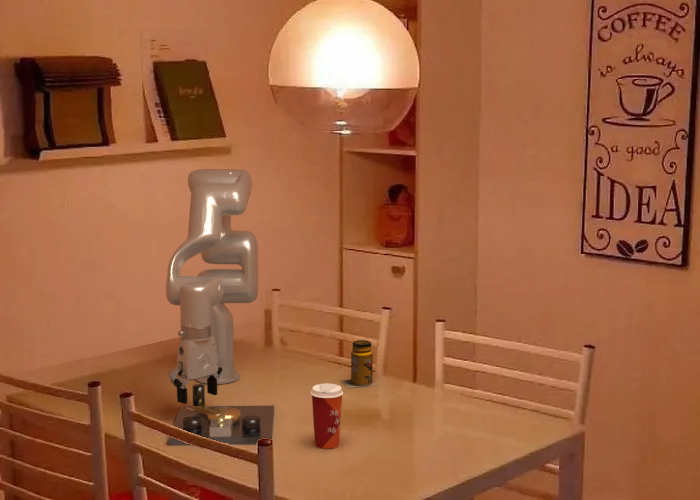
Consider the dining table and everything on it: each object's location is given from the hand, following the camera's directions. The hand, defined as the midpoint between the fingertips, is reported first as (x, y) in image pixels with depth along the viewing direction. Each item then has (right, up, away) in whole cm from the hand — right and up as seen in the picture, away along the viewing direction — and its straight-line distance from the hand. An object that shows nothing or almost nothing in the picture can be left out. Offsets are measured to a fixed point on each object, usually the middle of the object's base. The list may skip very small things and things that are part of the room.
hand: (197, 398), depth 262 cm
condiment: (+41, -1, +31) cm, 51 cm away
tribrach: (+7, -6, -6) cm, 11 cm away
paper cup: (+33, -9, -17) cm, 38 cm away
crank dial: (+5, -4, -4) cm, 7 cm away
